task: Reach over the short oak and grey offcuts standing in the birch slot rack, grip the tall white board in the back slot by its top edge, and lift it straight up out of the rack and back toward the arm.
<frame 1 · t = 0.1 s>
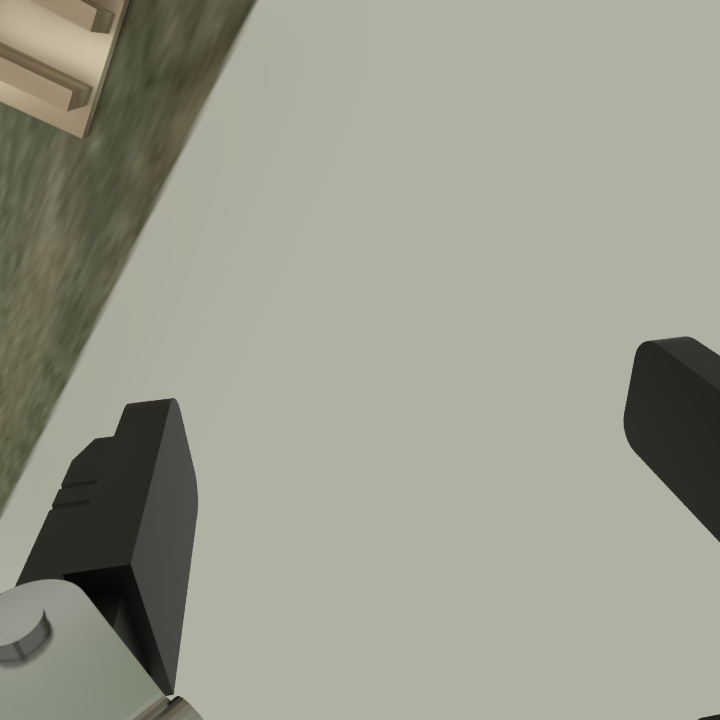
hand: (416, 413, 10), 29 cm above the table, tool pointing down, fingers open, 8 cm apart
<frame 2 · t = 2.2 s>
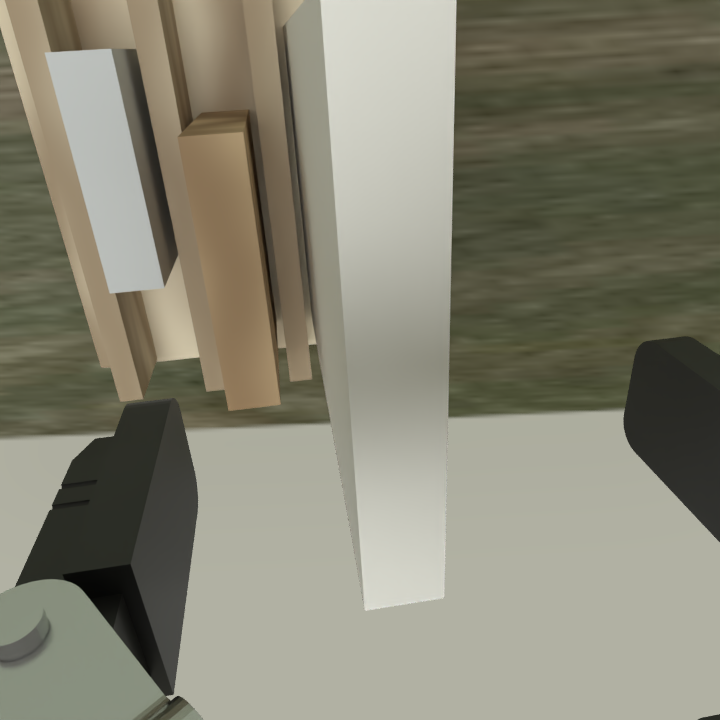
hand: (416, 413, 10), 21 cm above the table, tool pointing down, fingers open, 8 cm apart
sheet: (320, 186, 27), point 1 cm above the table, touching rack
rack: (238, 188, 28), on the table
offcut oak: (242, 226, 28), point 1 cm above the table, touching rack
offcut grey: (141, 154, 26), point 1 cm above the table, touching rack
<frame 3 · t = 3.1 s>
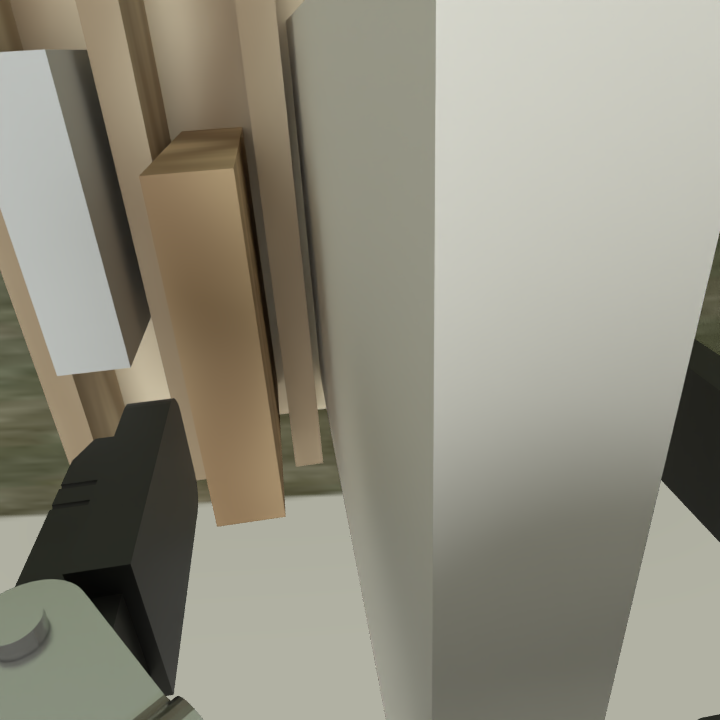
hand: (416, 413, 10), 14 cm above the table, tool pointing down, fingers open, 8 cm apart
sheet: (332, 222, 22), point 1 cm above the table, touching rack
rack: (230, 223, 22), on the table
offcut oak: (234, 271, 22), point 1 cm above the table, touching rack
offcut grey: (105, 184, 20), point 1 cm above the table, touching rack
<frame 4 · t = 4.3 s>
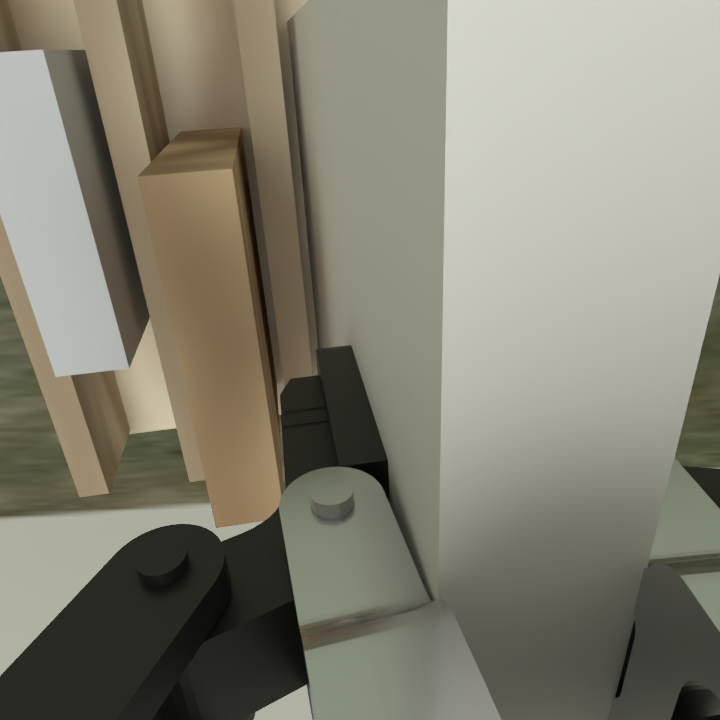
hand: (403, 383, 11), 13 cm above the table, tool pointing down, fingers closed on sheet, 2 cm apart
sheet: (333, 223, 22), point 1 cm above the table, touching gripper
rack: (228, 224, 22), on the table
offcut oak: (233, 272, 22), point 1 cm above the table, touching rack
offcut grey: (104, 185, 20), point 1 cm above the table, touching rack
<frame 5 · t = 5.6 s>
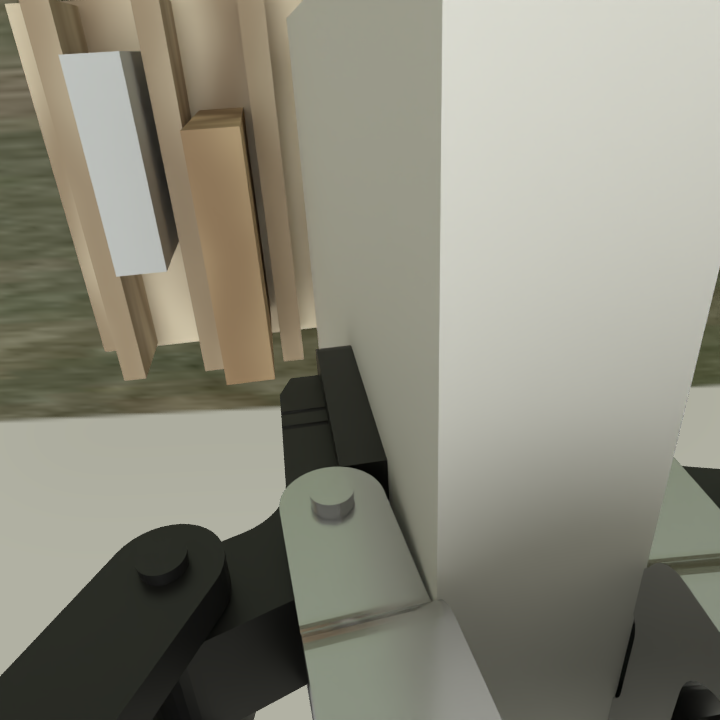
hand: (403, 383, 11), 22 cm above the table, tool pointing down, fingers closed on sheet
sheet: (333, 220, 22), point 10 cm above the table, touching gripper
rack: (233, 181, 30), on the table
offcut oak: (237, 217, 30), point 1 cm above the table, touching rack
offcut grey: (143, 149, 27), point 1 cm above the table, touching rack
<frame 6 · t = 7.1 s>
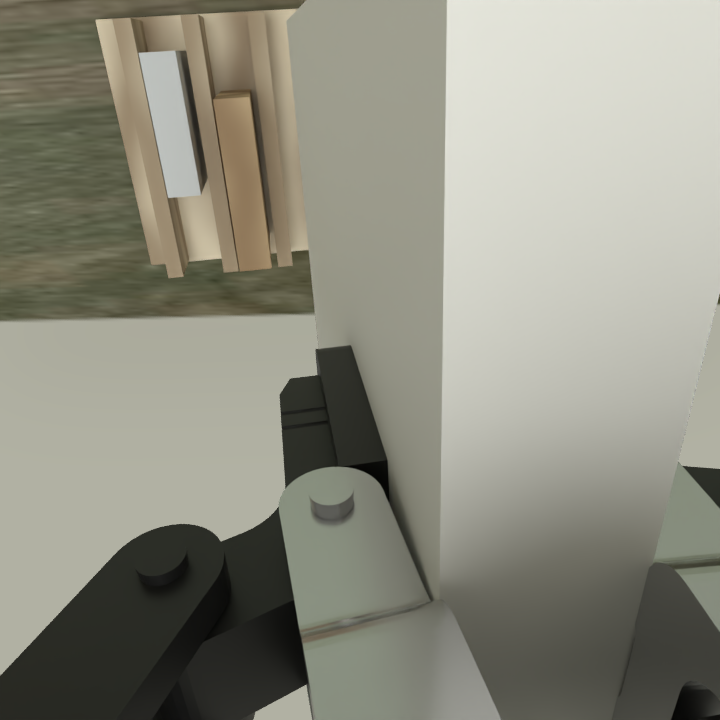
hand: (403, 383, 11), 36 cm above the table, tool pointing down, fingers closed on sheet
sheet: (333, 223, 22), point 24 cm above the table, touching gripper
rack: (243, 142, 43), on the table
offcut oak: (246, 166, 42), point 1 cm above the table, touching rack
offcut grey: (182, 118, 40), point 1 cm above the table, touching rack
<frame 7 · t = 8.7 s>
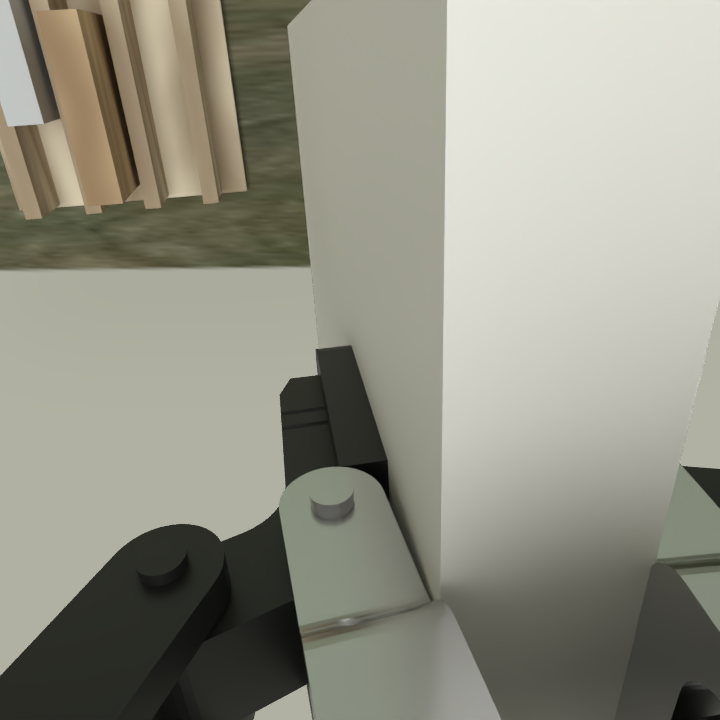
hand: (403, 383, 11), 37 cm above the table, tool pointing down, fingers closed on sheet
sheet: (334, 226, 22), point 25 cm above the table, touching gripper
rack: (111, 78, 40), on the table
offcut oak: (113, 103, 40), point 1 cm above the table, touching rack
offcut grey: (38, 48, 38), point 1 cm above the table, touching rack
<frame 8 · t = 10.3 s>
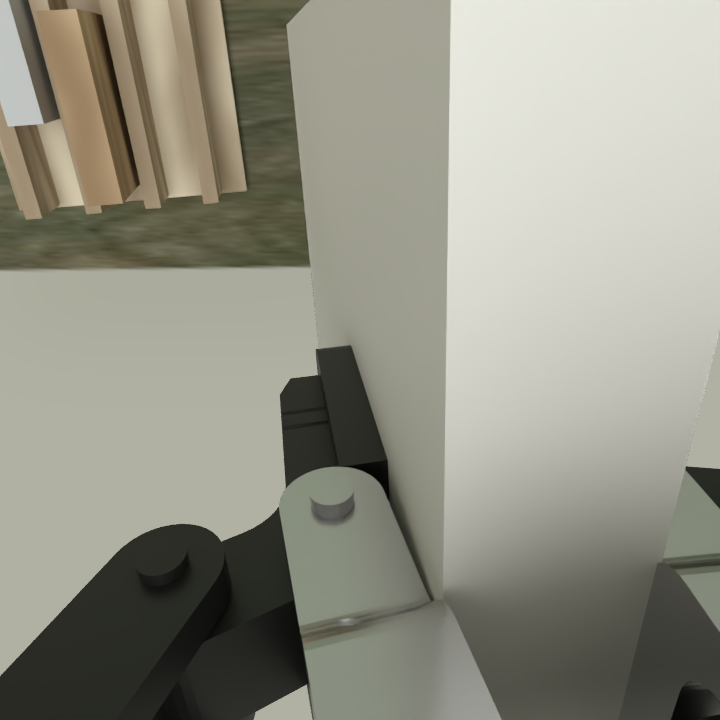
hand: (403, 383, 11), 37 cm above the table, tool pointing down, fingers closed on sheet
sheet: (333, 226, 22), point 25 cm above the table, touching gripper
rack: (111, 78, 40), on the table
offcut oak: (113, 103, 40), point 1 cm above the table, touching rack
offcut grey: (38, 48, 38), point 1 cm above the table, touching rack
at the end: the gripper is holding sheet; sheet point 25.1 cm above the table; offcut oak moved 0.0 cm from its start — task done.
